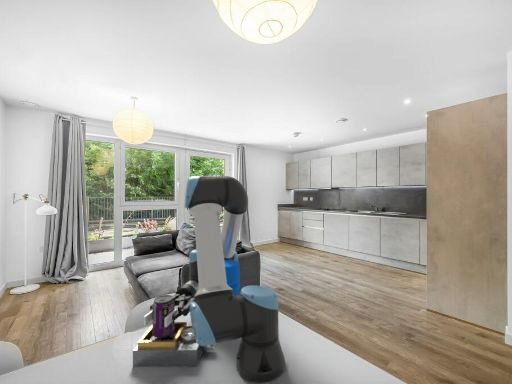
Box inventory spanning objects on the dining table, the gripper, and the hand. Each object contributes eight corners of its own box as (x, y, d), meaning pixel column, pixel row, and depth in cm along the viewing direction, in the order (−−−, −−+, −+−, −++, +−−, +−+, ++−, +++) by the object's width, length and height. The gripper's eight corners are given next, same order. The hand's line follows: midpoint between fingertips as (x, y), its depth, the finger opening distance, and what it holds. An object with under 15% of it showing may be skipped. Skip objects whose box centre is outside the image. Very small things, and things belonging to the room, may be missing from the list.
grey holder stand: (217, 339, 89) (217, 320, 89) (209, 366, 75) (209, 343, 75) (152, 340, 89) (152, 321, 89) (132, 366, 75) (132, 344, 75)
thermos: (226, 315, 107) (225, 258, 108) (245, 322, 101) (244, 262, 101) (208, 325, 98) (207, 264, 99) (228, 334, 92) (227, 268, 93)
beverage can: (171, 339, 79) (171, 302, 79) (149, 340, 78) (148, 303, 79) (177, 327, 86) (176, 293, 86) (156, 328, 85) (156, 294, 86)
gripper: (210, 304, 98) (183, 336, 75) (166, 300, 102) (127, 330, 79) (210, 285, 98) (183, 312, 75) (166, 282, 102) (127, 307, 79)
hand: (155, 321), depth 77 cm, fingers closed on beverage can, 7 cm apart
